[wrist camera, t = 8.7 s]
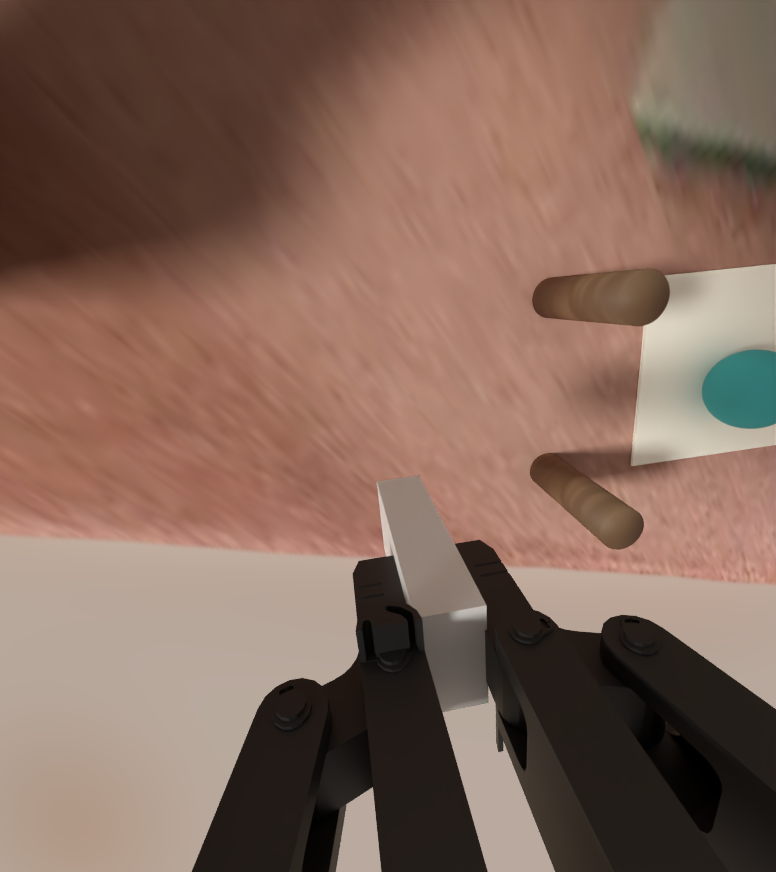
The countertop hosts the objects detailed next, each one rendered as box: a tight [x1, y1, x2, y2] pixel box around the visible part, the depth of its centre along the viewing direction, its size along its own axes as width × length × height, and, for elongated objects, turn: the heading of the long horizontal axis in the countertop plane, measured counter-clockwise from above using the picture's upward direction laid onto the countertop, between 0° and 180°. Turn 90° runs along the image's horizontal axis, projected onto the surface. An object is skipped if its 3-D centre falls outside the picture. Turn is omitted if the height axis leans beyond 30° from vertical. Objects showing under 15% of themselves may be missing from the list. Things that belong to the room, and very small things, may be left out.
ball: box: [702, 349, 776, 429], centre depth 30 cm, size 6×6×6 cm
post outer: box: [530, 454, 644, 549], centre depth 28 cm, size 3×3×9 cm
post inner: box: [532, 269, 670, 326], centre depth 24 cm, size 3×3×9 cm
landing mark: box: [630, 264, 776, 466], centre depth 32 cm, size 14×14×1 cm
